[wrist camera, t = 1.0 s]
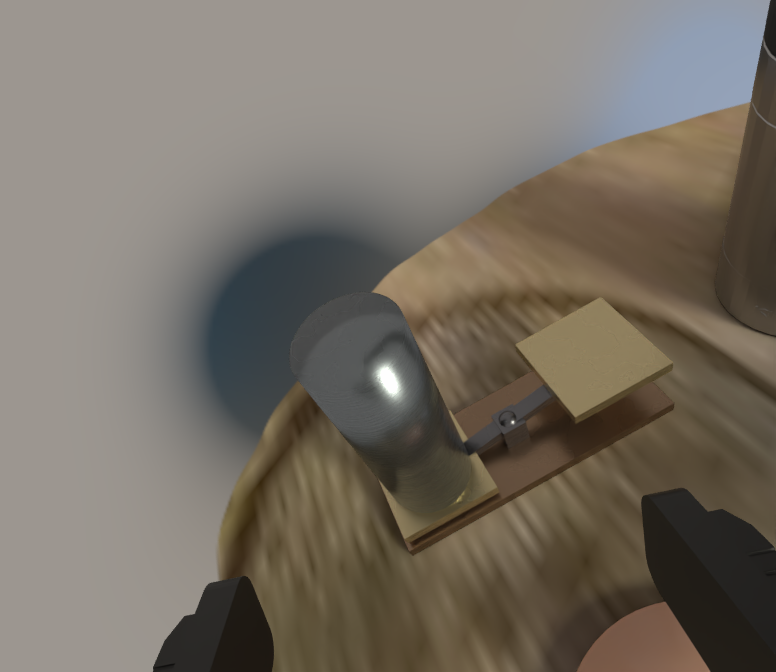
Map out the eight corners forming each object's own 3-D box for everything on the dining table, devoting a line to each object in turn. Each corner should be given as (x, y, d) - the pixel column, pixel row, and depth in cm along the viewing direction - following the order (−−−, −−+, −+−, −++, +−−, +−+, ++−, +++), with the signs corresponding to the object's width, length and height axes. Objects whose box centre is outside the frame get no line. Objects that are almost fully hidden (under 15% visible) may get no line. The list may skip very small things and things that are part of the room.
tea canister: (408, 421, 37) (327, 285, 26) (484, 444, 34) (425, 300, 24) (372, 495, 34) (266, 376, 24) (450, 526, 31) (368, 405, 21)
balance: (412, 555, 33) (387, 528, 29) (374, 465, 38) (348, 432, 34) (673, 409, 33) (680, 364, 30) (602, 339, 38) (600, 293, 34)
